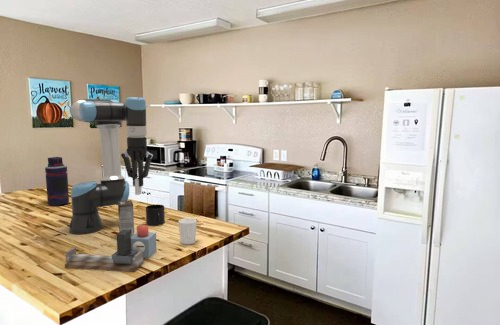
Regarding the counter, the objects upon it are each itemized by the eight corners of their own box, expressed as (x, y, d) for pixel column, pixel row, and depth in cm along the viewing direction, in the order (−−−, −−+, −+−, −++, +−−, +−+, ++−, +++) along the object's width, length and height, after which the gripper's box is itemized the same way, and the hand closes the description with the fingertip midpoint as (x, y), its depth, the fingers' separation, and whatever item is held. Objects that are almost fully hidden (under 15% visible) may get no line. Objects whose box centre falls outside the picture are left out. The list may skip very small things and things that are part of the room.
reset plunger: (135, 236, 138) (134, 228, 137) (139, 232, 142) (139, 224, 141) (145, 237, 137) (145, 228, 137) (150, 233, 141) (149, 225, 141)
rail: (63, 267, 128) (62, 253, 127) (76, 259, 135) (76, 245, 135) (135, 272, 124) (135, 257, 124) (144, 263, 132) (144, 249, 132)
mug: (150, 228, 173) (149, 211, 171) (144, 222, 183) (143, 205, 182) (168, 225, 177) (168, 208, 176) (161, 219, 188) (161, 203, 186)
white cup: (180, 239, 158) (179, 218, 157) (197, 238, 159) (197, 217, 158) (178, 245, 151) (177, 223, 149) (196, 245, 151) (195, 223, 150)
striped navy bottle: (73, 203, 219) (70, 157, 215) (54, 207, 209) (50, 159, 205) (61, 200, 227) (58, 155, 223) (42, 204, 217) (38, 157, 213)
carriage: (111, 264, 126) (110, 234, 125) (119, 257, 132) (118, 229, 131) (130, 265, 125) (128, 235, 124) (137, 258, 131) (136, 229, 130)
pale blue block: (129, 258, 136) (128, 239, 135) (138, 250, 145) (137, 231, 144) (148, 259, 136) (147, 240, 135) (156, 251, 144) (156, 232, 143)
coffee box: (119, 233, 165) (117, 200, 163) (133, 231, 168) (131, 199, 165) (119, 239, 157) (118, 205, 155) (134, 237, 159) (133, 204, 157)
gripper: (116, 136, 134) (118, 195, 137) (148, 137, 132) (150, 197, 136) (125, 135, 141) (127, 191, 145) (156, 136, 140) (157, 192, 143)
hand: (138, 194), depth 140 cm, fingers closed
